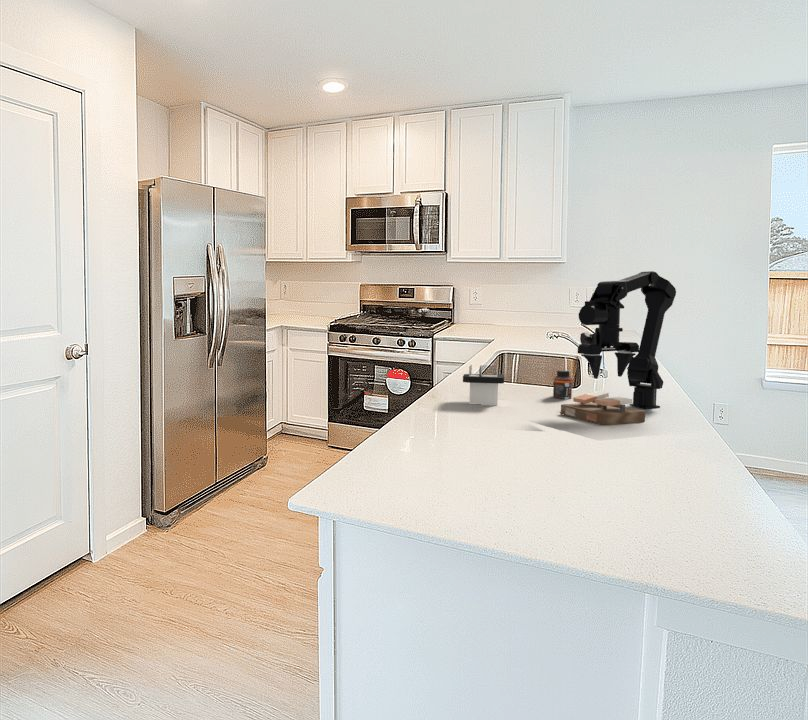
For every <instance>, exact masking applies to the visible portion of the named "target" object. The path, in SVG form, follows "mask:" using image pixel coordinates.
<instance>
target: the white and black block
mask: <svg viewBox="0 0 808 720" xmlns="http://www.w3.org/2000/svg"><path fill="white" fill-rule="evenodd" d="M472 366H473V365H472V364H470V365H469V367H468V368H469V370H468V373H465V374H463V376H462V383H468V384H469V405H470V404H481V405H480V406H494V405H496V407H497V406H498V400H499V398H498V397H499V384H500V385H501V384H504V383H505V374H504V373H503V374H499V373H497V372H496V371H499V370H498V365H480V366H479V373H473V371H472V369H473V368H472ZM483 369H484V372H483ZM491 371H492V372H491Z"/></svg>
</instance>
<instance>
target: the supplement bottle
mask: <svg viewBox="0 0 808 720" xmlns="http://www.w3.org/2000/svg"><path fill="white" fill-rule="evenodd" d="M572 389H573V379H572V377H570V371H569V370H566V369H565V370H564V369H563V370H562V369H561V370H557V371H556V376H554V378H553V390H552V398H554V399H556V400H557V399H558V400H572V397H573V394H572V393H573V390H572Z"/></svg>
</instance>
